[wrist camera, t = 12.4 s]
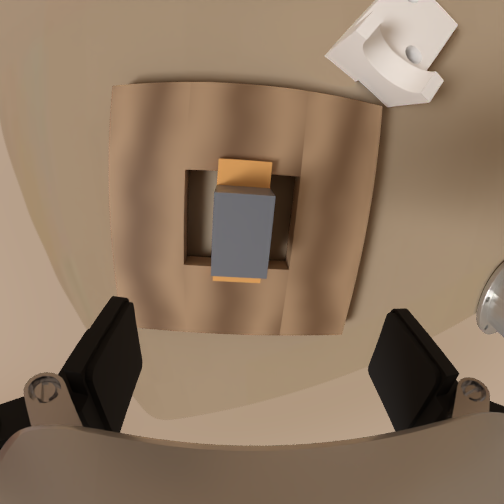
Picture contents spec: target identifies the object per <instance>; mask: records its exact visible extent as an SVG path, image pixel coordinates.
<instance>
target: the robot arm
mask: <svg viewBox="0 0 504 504" xmlns="http://www.w3.org/2000/svg"><path fill="white" fill-rule="evenodd" d="M476 320H477V325H478V327H479V328H480V329H481V330H482V331H483V332H484V333H486V334H493V333H496V332H499V333H500V334H501V335H502V336H503V337H504V262H503V263H502V264H501V265H500V266H499V267H498V268H497V269H496V270H495V272H494V273H493V274H492V276H491V277H490V279H489V281H488V282H487V284H486V286H485V288H484V290H483V292H482V295H481V297H480V300H479V304H478V308H477V318H476ZM141 369H142V356H141V350H140V344H139V338H138V331H137V325H136V317H135V310H134V304H133V303H132V302H129V299H128V298H125V297H116V296H112V297H111V299H110V300H109V301H108V303H107V304H106V306H105V307H104V308H103V310H102V311H101V313H100V314H99V316H98V317H97V319H96V320H95V321H94V323H93V324H92V326H91V327H90V329H88V330H87V331H86V332H85V334H84V335H83V337H82V338H81V340H80V341H79V343H78V344H77V346H76V347H75V349H74V350H73V352H72V353H71V355H70V356H69V358H68V360H67V361H66V363H65V365H64V366H63V368H62V369H61V371H60V372H59V374H58V375H57V374H54V373H48V372H46V373H40V374H38V375H35V376H34V377H32V378H31V379H29V381H28V382H27V383H26V385H25V387H24V397H21V398H19V399H15V400H12V401H9V402H6V403H3V404H0V504H504V406H502V405H499V404H496V403H494V402H491V401H490V394H489V391H488V389H487V387H486V386H485V385H484V384H483V383H482V382H480V381H479V380H477V379H475V378H463V379H461V380H460V381H459V382H457V380H456V378H457V377H458V375H459V373H458V371H457V370H456V369H455V367H454V366H453V365H452V363H451V362H450V361H449V360H448V358H447V357H446V356H445V354H444V353H443V352H442V351H441V349H440V348H439V347H438V346H437V345H436V343H435V342H434V341H433V339H432V338H431V337H430V336H429V334H428V333H427V332H426V331H425V330H424V328H423V327H422V326H421V325H420V324H419V322H418V321H417V320H416V319H415V318H414V316H413V315H412V314H411V313H410V312H409V311H408V310H407V309H393V310H392V311H391V312H390V313H388V314H387V316H386V319H385V322H384V325H383V328H382V331H381V334H380V337H379V339H378V342H377V345H376V348H375V350H374V353H373V356H372V358H371V361H370V364H369V367H368V372H369V375H370V377H371V379H372V382H373V384H374V386H375V388H376V390H377V392H378V394H379V396H380V398H381V401H382V403H383V405H384V407H385V409H386V411H387V413H388V416H389V418H390V420H391V422H392V425H393V427H394V429H395V431H396V432H391V433H386V434H381V435H375V436H369V437H363V438H357V439H350V440H341V441H333V442H324V443H313V444H298V445H276V446H236V445H235V446H233V445H213V444H198V443H187V442H178V441H170V440H162V439H154V438H147V437H141V436H134V435H129V434H122V433H120V430H121V427H122V424H123V421H124V418H125V415H126V412H127V409H128V406H129V403H130V400H131V397H132V394H133V391H134V389H135V386H136V383H137V380H138V377H139V374H140V372H141Z"/></svg>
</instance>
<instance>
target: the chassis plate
mask: <svg viewBox="0 0 504 504" xmlns="http://www.w3.org/2000/svg"><path fill="white" fill-rule="evenodd" d="M381 118H382V106H379V105H375V104H371V103H367V102H363V101H359V100H354V99H349V98H345V97H340V96H334V95H329V94H323V93H318V92H311V91H305V90H298V89H291V88H283V87H274V86H265V85H253V84H240V83H221V82H160V83H141V84H128V85H117V86H113V87H112V98H111V111H110V128H109V210H110V227H111V241H112V252H113V263H114V272H115V280H116V288H117V295H118V297H125V298H128V299H129V302H132V303H133V304H134V310H135V317H136V325H137V328H147V329H158V330H170V331H183V332H198V333H216V334H241V335H339V334H342V332H343V328H344V325H345V321H346V317H347V313H348V310H349V306H350V302H351V298H352V294H353V290H354V286H355V281H356V277H357V273H358V268H359V264H360V259H361V254H362V250H363V245H364V240H365V234H366V229H367V224H368V218H369V212H370V207H371V200H372V194H373V187H374V181H375V173H376V166H377V158H378V149H379V140H380V130H381ZM219 158H227V159H242V160H255V161H267V162H272V172H271V174H275V175H286V176H295V183H294V193H293V202H292V211H291V219H290V228H289V236H288V244H287V252H286V260H285V261H278V260H269V262H268V271H267V279H261V280H260V283H245V282H226V281H213V276H211V257H197V256H187V209H188V176H189V170H212V171H218V162H219Z"/></svg>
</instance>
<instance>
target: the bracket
mask: <svg viewBox="0 0 504 504" xmlns="http://www.w3.org/2000/svg"><path fill="white" fill-rule="evenodd" d="M457 26H458V24H457V23H456V22H455V21H454V20H453V19H452V18H451V16H450V15H449V14H448V13H447V12H446V11H445V10H444V9H443V8H442V7H441V6H440V5H439V4H438V3H437V2H436V1H435V0H375V1H374V2H373V3H372V4H371V5H370V6H369V7H368V8H367V9H366V10H365V11H364V12H363V13H362V15H361V16H360V17H359V18H358V19H357V20H356V21H355V22H354V23H353V24H352V25H351V26H350V28H349V29H348V30H347V31H346V32H345V33H344V34H343V35H342V36H341V37H340V39H339V40H338V41H337V42H336V43H335V44H334V45H333V47H332V48H331V49H330V50H329V51H328V52H327V53H326V55H325V57H326V58H328V59H329V60H330V61H331V62H333V63H334V64H335V65H336V66H338V67H339V68H340V69H341V70H342V71H344V72H345V73H346V74H347V75H348V76H350V77H351V78H352V79H353V80H354V81H355V82H356V81H360V82H361V83H362V84H363V85H364V86H365V87H366V88H367V89H368V90H370V91H371V92H372V93H373V94H374V95H375V96H376V97H377V98H378V99H379V100H380V101H381V102H382V103H383V104H384V105H385V106H386V107H394V106H402V105H411V104H421V103H429V102H430V101H431V99H432V98H433V96H434V95H435V93H436V92H437V90H438V89H439V87H440V86H441V84H442V83H443V81H444V80H443V79H442V78H441V76H440V75H439V74H438V73H437V72H436V71H434V72H431V71H427V69H428V68H429V67H430V65H431V64H432V62H433V61H434V59H435V58H436V57H437V55H438V54H439V52H440V51H441V49H442V48H443V46H444V45H445V44H446V42H447V41H448V39H449V38H450V36H451V35H452V33H453V32H454V30H455V29H456V27H457Z"/></svg>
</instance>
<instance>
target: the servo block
mask: <svg viewBox="0 0 504 504" xmlns="http://www.w3.org/2000/svg"><path fill="white" fill-rule="evenodd" d="M271 172H272V162H267V161H255V160H242V159H227V158H219V162H218V177H217V186H216V189H215V192H214V210H213V230H212V255H211V276H213V281H226V282H245V283H260V280H261V279H267V271H268V262H269V253H270V244H271V235H272V226H273V216H274V207H275V197H276V196H275V195H274V193H273V192H272V191H271V189H270V182H271Z"/></svg>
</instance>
